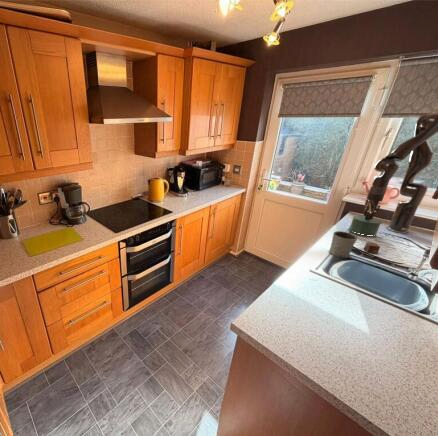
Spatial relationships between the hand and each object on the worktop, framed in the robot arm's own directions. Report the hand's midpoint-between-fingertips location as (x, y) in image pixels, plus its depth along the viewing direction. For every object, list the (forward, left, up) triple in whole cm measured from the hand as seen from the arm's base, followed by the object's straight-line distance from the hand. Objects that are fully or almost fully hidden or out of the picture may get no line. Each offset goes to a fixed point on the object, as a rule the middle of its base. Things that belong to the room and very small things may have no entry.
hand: (367, 217), depth 152 cm
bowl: (0, 0, -2) cm, 2 cm away
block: (+30, -6, -11) cm, 33 cm away
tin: (0, 0, -11) cm, 11 cm away
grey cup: (+41, -24, -12) cm, 49 cm away
